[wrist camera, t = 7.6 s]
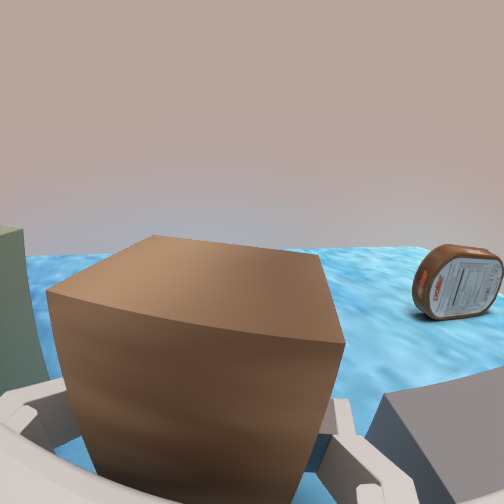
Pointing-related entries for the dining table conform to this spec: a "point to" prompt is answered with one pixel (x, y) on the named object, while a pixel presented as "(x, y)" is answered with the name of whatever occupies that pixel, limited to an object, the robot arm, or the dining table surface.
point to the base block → (446, 436)
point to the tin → (457, 282)
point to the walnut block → (199, 367)
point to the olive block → (17, 318)
